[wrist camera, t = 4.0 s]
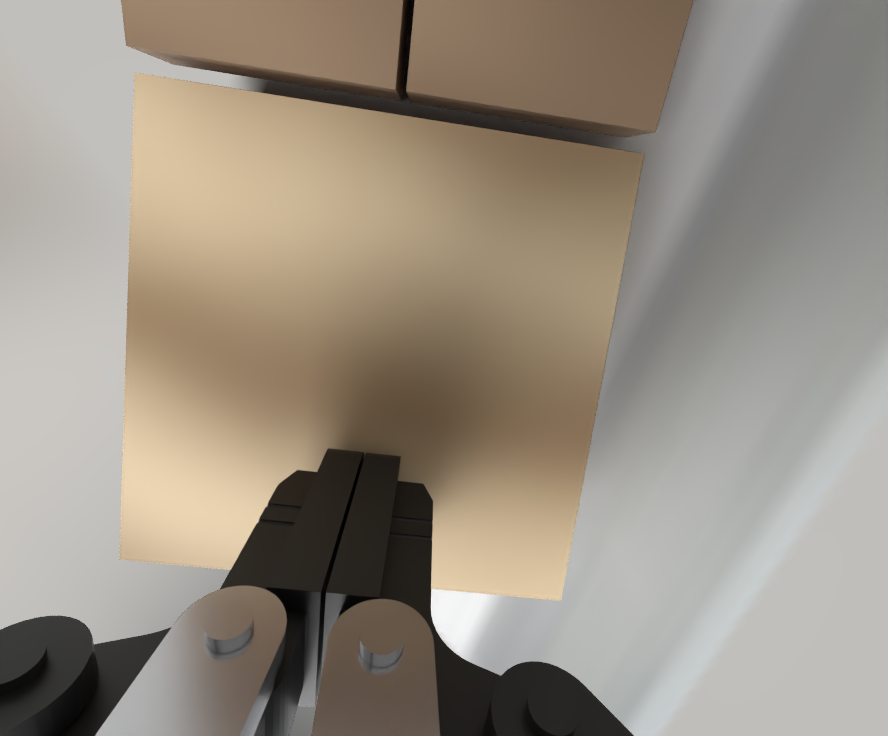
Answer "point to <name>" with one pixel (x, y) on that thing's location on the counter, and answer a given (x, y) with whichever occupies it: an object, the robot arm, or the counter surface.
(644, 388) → the counter surface
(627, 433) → the counter surface
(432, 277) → the oak plank
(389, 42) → the brown flat square block
